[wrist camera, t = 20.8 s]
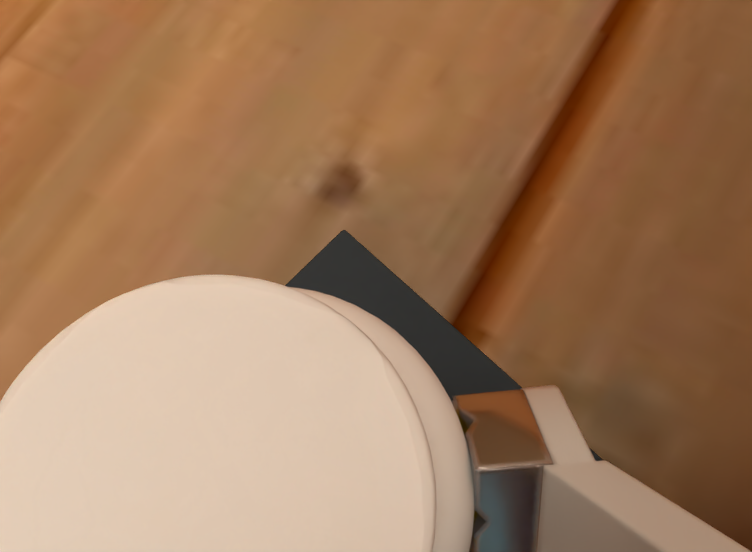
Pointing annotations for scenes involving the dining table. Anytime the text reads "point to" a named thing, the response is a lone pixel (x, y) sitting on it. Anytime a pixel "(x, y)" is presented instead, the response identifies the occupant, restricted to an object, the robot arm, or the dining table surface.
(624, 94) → the dining table surface
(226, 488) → the supplement bottle
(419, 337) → the mat
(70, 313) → the dining table surface
